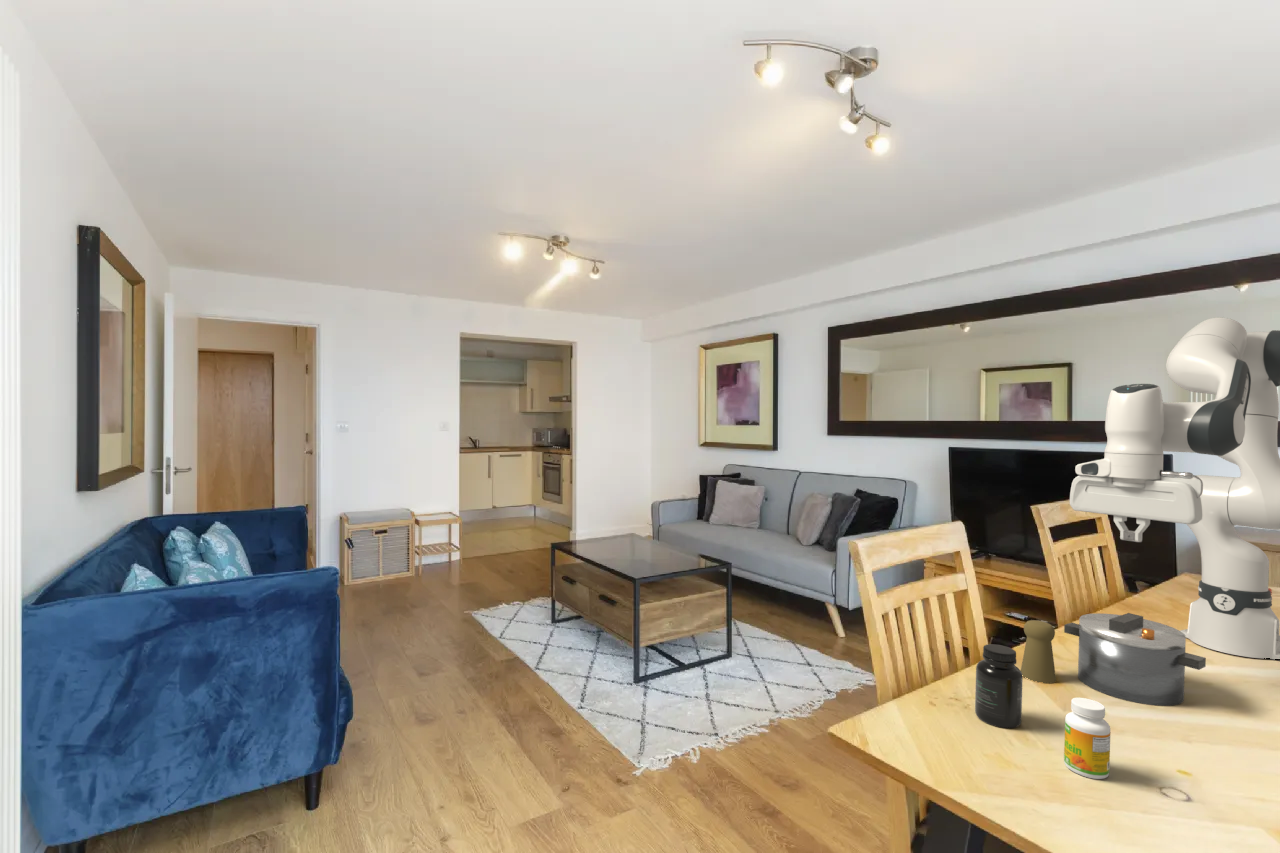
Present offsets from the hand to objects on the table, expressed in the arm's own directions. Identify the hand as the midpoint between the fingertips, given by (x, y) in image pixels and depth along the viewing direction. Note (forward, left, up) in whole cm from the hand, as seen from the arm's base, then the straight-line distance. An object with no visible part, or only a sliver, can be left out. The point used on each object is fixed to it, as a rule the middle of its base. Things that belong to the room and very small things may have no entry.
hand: (1131, 540), depth 119 cm
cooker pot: (-1, 0, -28) cm, 28 cm away
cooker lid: (-1, 0, -18) cm, 18 cm away
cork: (+10, -11, -29) cm, 32 cm away
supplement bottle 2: (+39, +10, -29) cm, 50 cm away
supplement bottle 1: (+35, -5, -29) cm, 46 cm away
